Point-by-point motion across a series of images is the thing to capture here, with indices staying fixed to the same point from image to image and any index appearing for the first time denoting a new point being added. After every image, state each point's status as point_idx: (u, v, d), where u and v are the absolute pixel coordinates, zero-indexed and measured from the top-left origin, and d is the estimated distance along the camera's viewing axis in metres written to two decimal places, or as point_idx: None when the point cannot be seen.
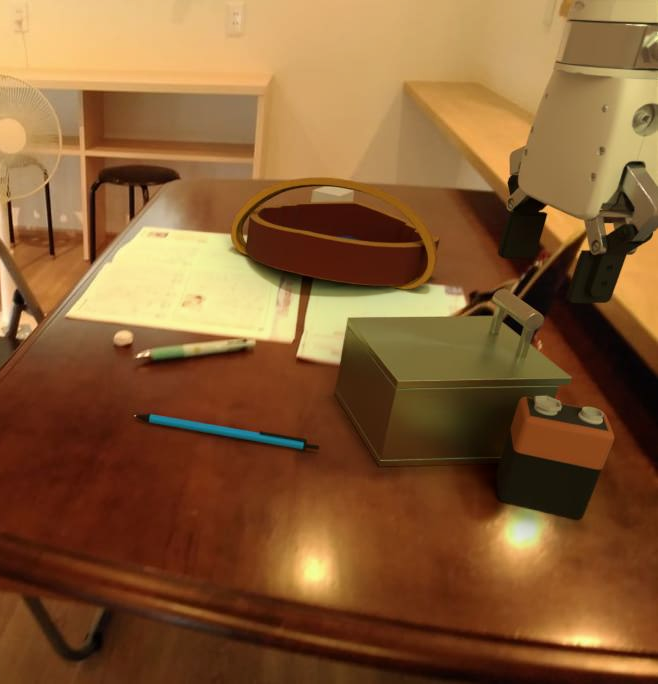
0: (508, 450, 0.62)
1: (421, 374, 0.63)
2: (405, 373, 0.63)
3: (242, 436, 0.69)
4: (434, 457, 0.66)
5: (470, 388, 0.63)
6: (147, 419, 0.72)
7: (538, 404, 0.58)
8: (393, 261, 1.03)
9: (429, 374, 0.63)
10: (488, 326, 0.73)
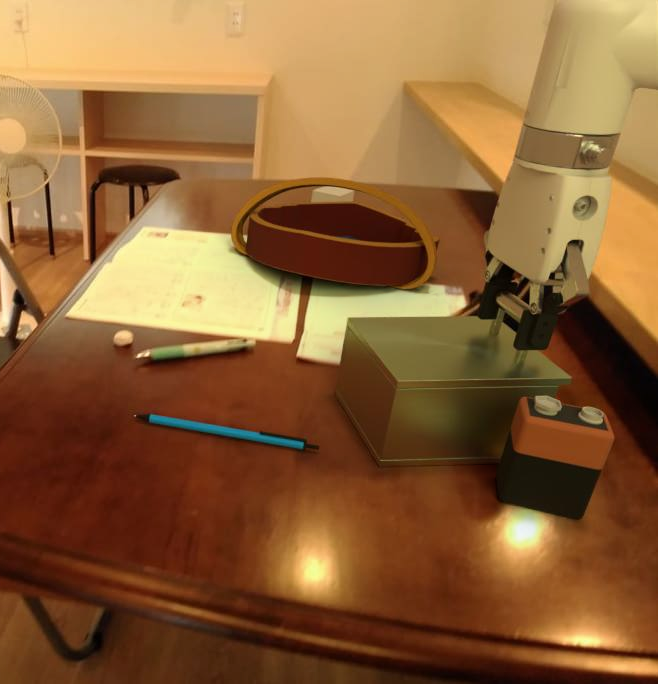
0: (508, 450, 0.62)
1: (421, 374, 0.63)
2: (405, 373, 0.63)
3: (242, 436, 0.69)
4: (434, 457, 0.66)
5: (470, 388, 0.63)
6: (147, 419, 0.72)
7: (538, 404, 0.58)
8: (393, 261, 1.03)
9: (429, 374, 0.63)
10: (488, 326, 0.73)
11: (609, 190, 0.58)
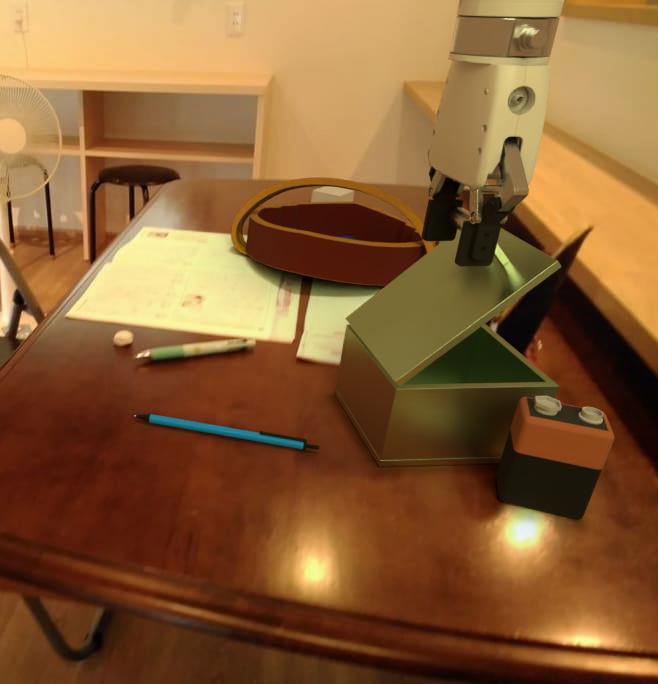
0: (508, 450, 0.62)
1: (413, 357, 0.62)
2: (400, 366, 0.63)
3: (242, 436, 0.69)
4: (434, 457, 0.66)
5: (470, 388, 0.63)
6: (147, 419, 0.72)
7: (538, 404, 0.58)
8: (393, 261, 1.03)
9: (421, 352, 0.62)
10: None
11: (548, 80, 0.53)
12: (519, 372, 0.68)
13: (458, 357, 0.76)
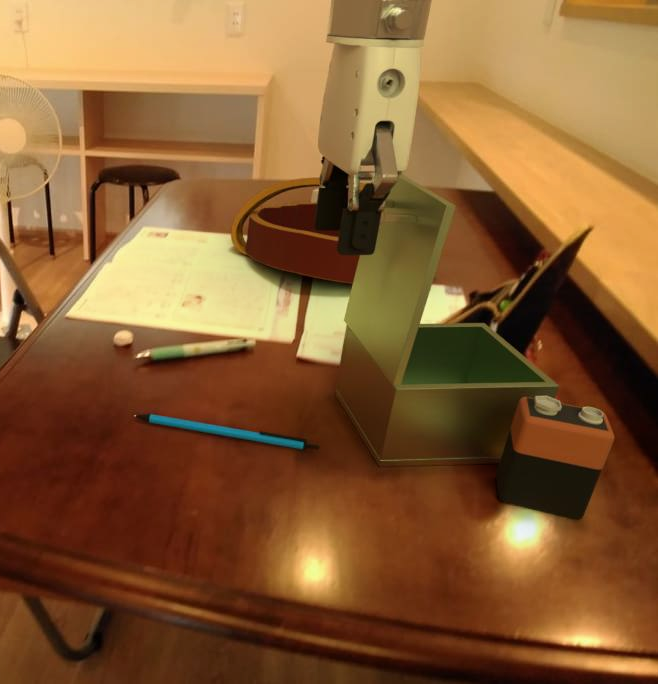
0: (508, 450, 0.62)
1: (395, 352, 0.62)
2: (390, 365, 0.63)
3: (242, 436, 0.69)
4: (434, 457, 0.66)
5: (470, 388, 0.63)
6: (147, 419, 0.72)
7: (538, 404, 0.58)
8: None
9: (398, 345, 0.61)
10: None
11: (417, 63, 0.52)
12: (519, 372, 0.68)
13: (458, 357, 0.76)
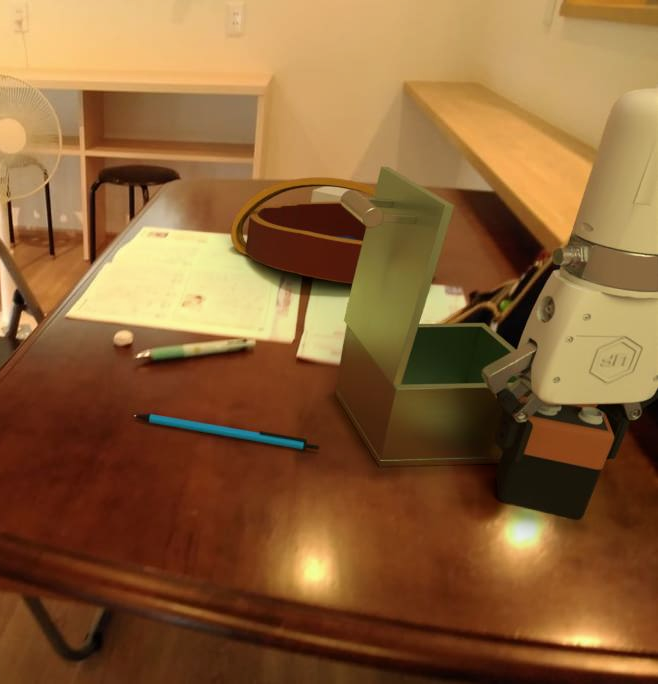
0: None
1: (395, 352, 0.62)
2: (390, 365, 0.63)
3: (242, 436, 0.69)
4: (434, 457, 0.66)
5: (470, 388, 0.63)
6: (147, 419, 0.72)
7: None
8: None
9: (397, 345, 0.61)
10: (386, 195, 0.65)
11: (573, 303, 0.51)
12: None
13: (458, 357, 0.76)
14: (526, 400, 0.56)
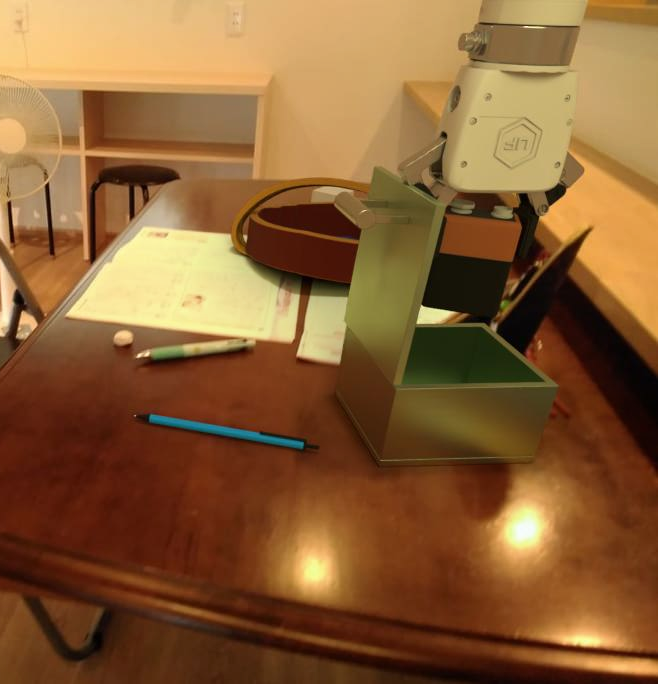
0: None
1: (394, 353, 0.62)
2: (389, 365, 0.63)
3: (242, 436, 0.69)
4: (434, 457, 0.66)
5: (470, 388, 0.63)
6: (147, 419, 0.72)
7: (453, 204, 0.62)
8: None
9: (396, 345, 0.61)
10: (379, 195, 0.65)
11: (475, 83, 0.55)
12: (519, 372, 0.68)
13: (458, 357, 0.76)
14: (439, 193, 0.60)
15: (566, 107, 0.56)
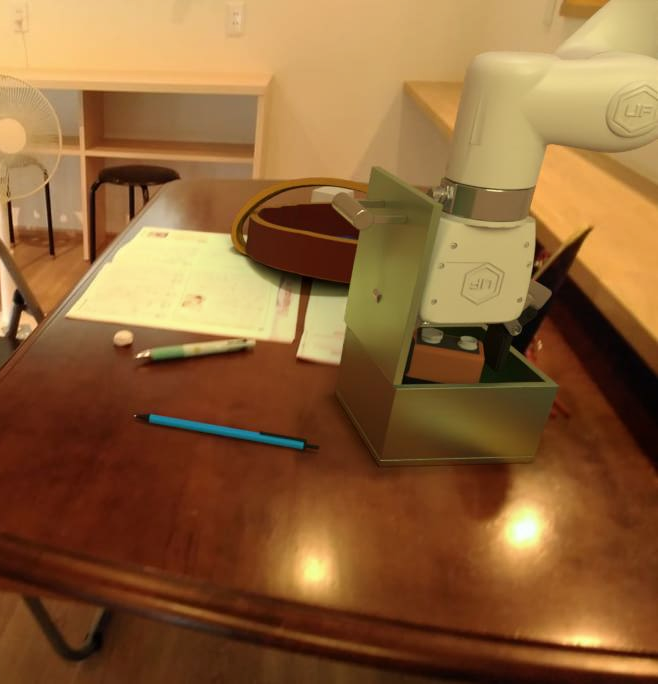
0: (403, 376, 0.71)
1: (393, 353, 0.62)
2: (389, 365, 0.63)
3: (242, 436, 0.69)
4: (434, 457, 0.66)
5: (470, 388, 0.63)
6: (147, 419, 0.72)
7: (423, 334, 0.68)
8: None
9: (395, 345, 0.61)
10: (377, 195, 0.65)
11: (442, 234, 0.61)
12: (519, 372, 0.68)
13: None
14: None
15: (525, 252, 0.62)
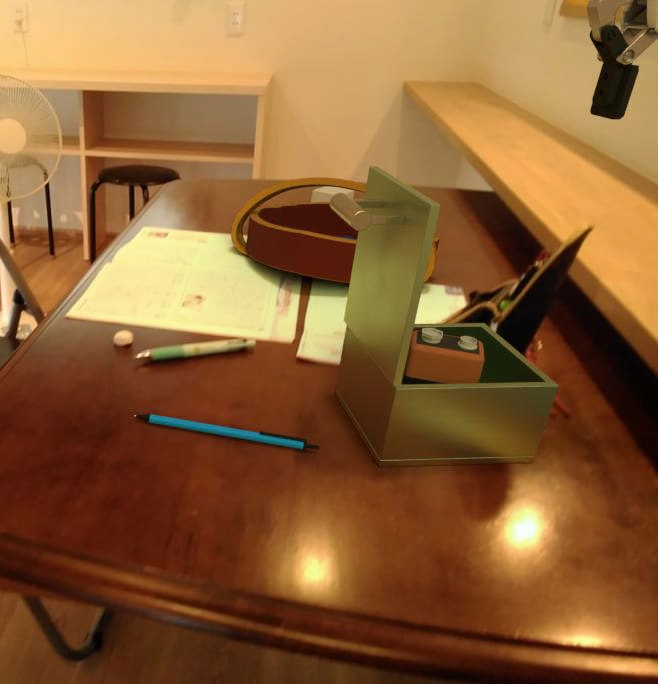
0: (403, 376, 0.71)
1: (393, 353, 0.62)
2: (389, 365, 0.63)
3: (242, 436, 0.69)
4: (434, 457, 0.66)
5: (470, 388, 0.63)
6: (147, 419, 0.72)
7: (423, 334, 0.68)
8: None
9: (395, 345, 0.61)
10: (375, 195, 0.65)
11: None
12: (519, 372, 0.68)
13: None
14: (635, 37, 0.52)
15: None
